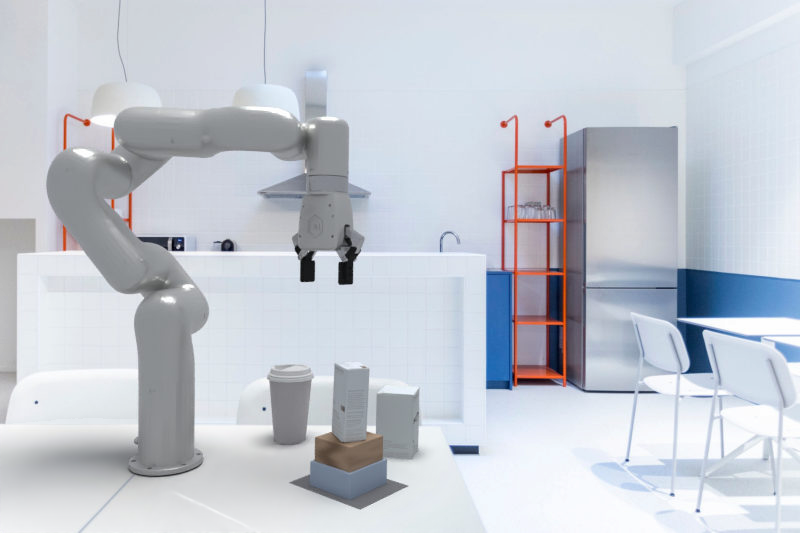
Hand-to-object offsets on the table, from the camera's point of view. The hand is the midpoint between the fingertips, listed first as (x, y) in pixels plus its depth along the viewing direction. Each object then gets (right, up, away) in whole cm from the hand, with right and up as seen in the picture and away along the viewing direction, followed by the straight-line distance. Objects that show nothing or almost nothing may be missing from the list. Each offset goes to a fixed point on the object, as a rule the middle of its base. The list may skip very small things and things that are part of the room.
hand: (326, 283), depth 109 cm
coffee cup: (-9, -33, +16) cm, 38 cm away
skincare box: (+5, -25, -9) cm, 27 cm away
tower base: (+5, -33, -8) cm, 35 cm away
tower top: (+5, -29, -8) cm, 31 cm away
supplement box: (+13, -34, +8) cm, 37 cm away
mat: (+5, -34, -8) cm, 35 cm away
